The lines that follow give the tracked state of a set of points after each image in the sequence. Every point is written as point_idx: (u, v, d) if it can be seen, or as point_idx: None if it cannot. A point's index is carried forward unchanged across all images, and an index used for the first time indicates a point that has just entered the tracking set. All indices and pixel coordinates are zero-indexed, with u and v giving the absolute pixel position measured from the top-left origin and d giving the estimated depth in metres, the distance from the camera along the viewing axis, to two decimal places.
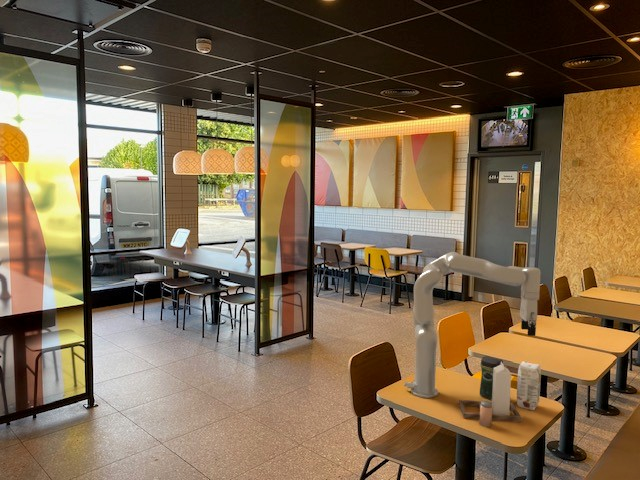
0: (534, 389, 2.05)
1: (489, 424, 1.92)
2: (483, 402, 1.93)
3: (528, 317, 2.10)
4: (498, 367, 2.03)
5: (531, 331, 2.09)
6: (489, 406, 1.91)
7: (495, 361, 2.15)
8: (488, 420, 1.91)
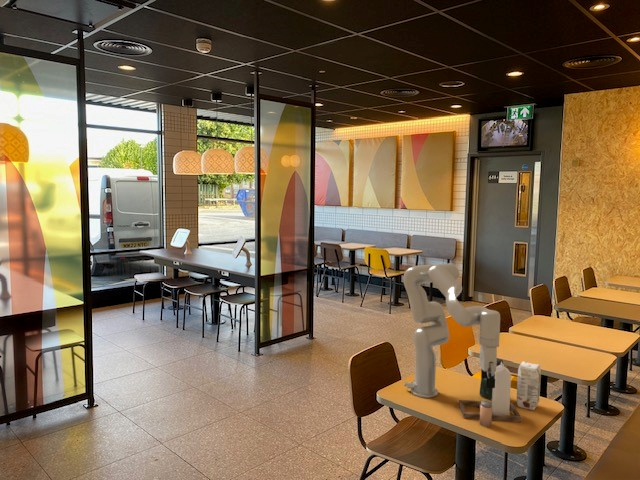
0: (534, 389, 2.05)
1: (489, 424, 1.92)
2: (483, 402, 1.93)
3: (486, 367, 1.86)
4: (498, 367, 2.03)
5: (490, 383, 1.86)
6: (489, 406, 1.91)
7: None
8: (488, 420, 1.91)
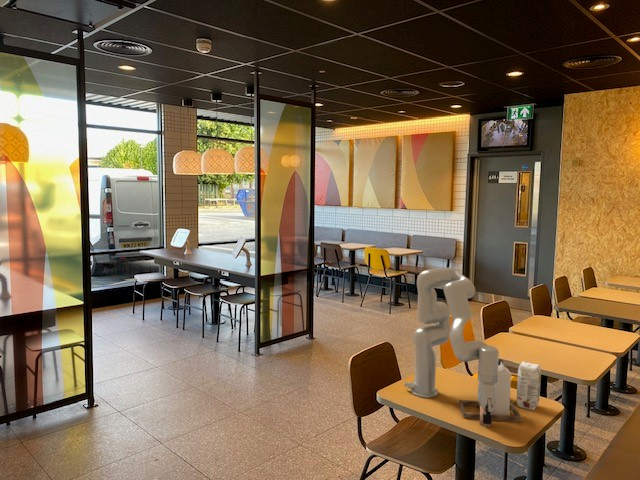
0: (534, 389, 2.05)
1: (489, 424, 1.92)
2: None
3: (484, 403, 1.88)
4: (498, 367, 2.03)
5: (486, 419, 1.90)
6: None
7: None
8: None
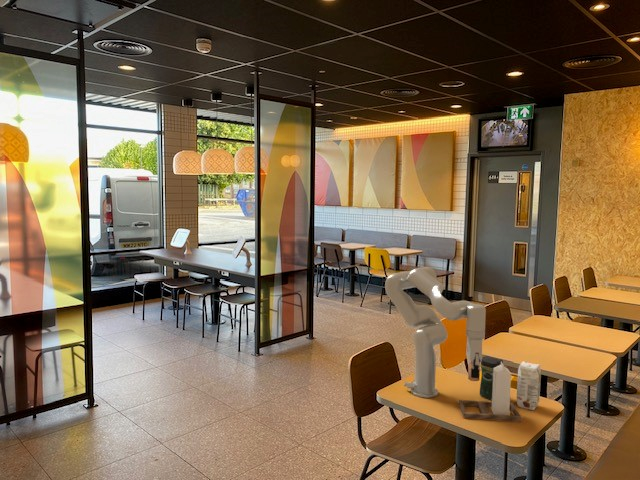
0: (534, 389, 2.05)
1: (477, 378, 2.01)
2: None
3: (472, 358, 1.98)
4: (498, 367, 2.03)
5: (474, 373, 2.00)
6: None
7: (495, 361, 2.15)
8: None
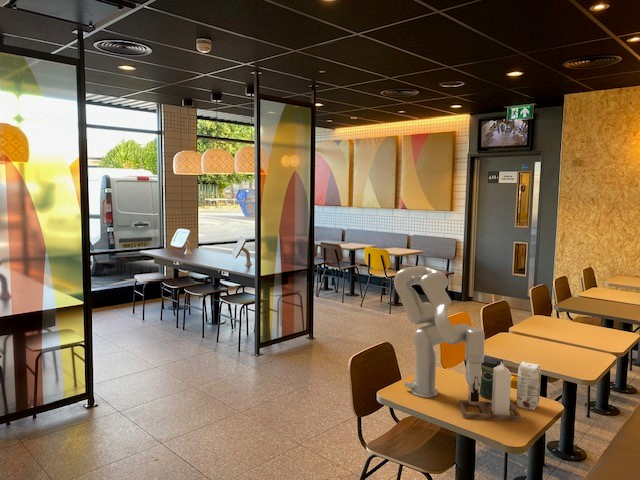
0: (534, 389, 2.05)
1: None
2: None
3: (472, 382, 1.99)
4: (498, 367, 2.03)
5: (474, 397, 2.01)
6: None
7: (495, 361, 2.15)
8: None
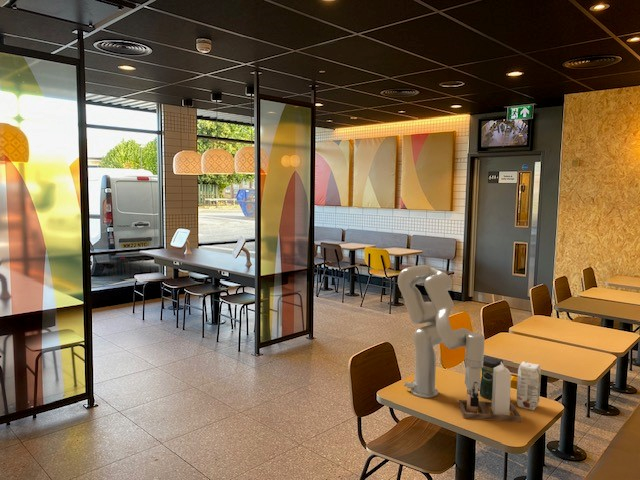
0: (534, 389, 2.05)
1: (475, 411, 2.03)
2: (470, 390, 2.05)
3: (471, 387, 1.99)
4: (498, 367, 2.03)
5: (474, 402, 2.00)
6: None
7: (495, 361, 2.15)
8: (474, 407, 2.03)
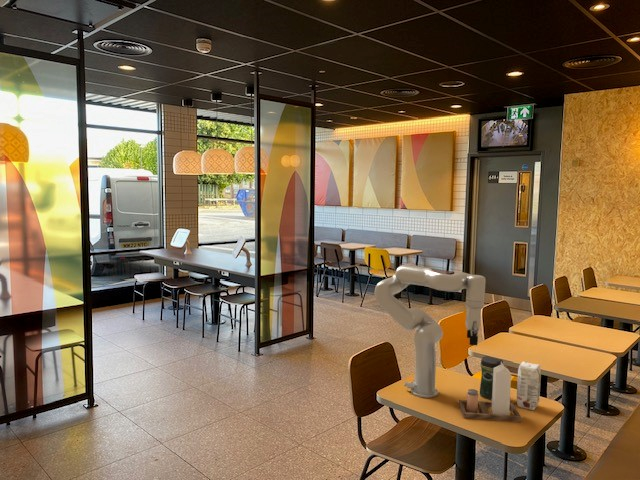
0: (534, 389, 2.05)
1: (475, 411, 2.03)
2: (470, 390, 2.05)
3: (470, 326, 2.04)
4: (498, 367, 2.03)
5: (473, 340, 2.04)
6: (475, 394, 2.03)
7: (495, 361, 2.15)
8: (474, 407, 2.03)
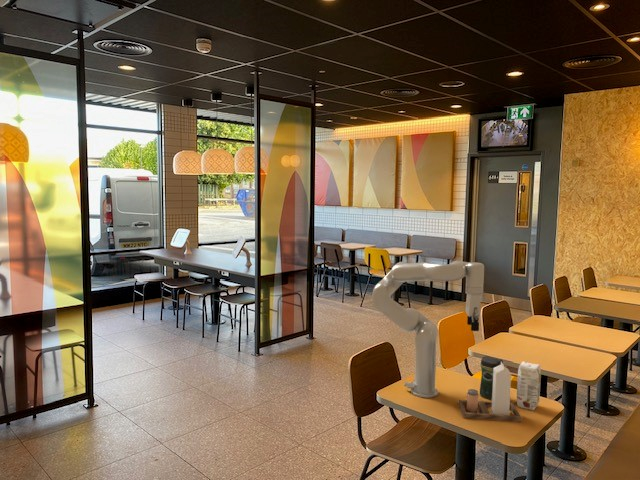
0: (534, 389, 2.05)
1: (475, 411, 2.03)
2: (470, 390, 2.05)
3: (471, 312, 2.09)
4: (498, 367, 2.03)
5: (474, 326, 2.09)
6: (475, 394, 2.03)
7: (495, 361, 2.15)
8: (474, 407, 2.03)
